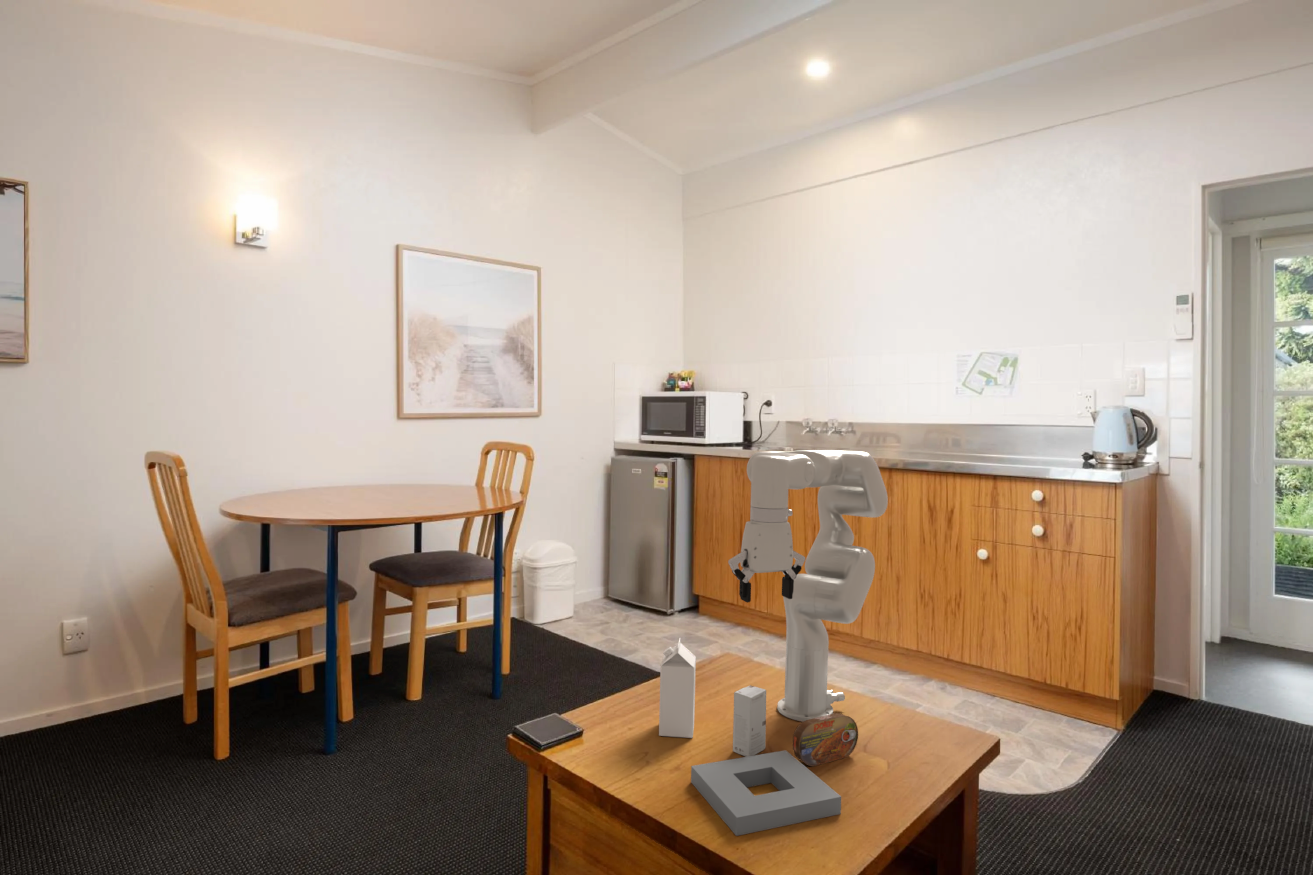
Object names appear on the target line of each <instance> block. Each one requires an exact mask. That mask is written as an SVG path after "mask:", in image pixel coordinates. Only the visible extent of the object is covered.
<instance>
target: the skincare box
mask: <svg viewBox="0 0 1313 875" xmlns="http://www.w3.org/2000/svg"><path fill="white" fill-rule="evenodd" d="M732 720H733V722H732V723H733V727H732V728H733V730H732V752H734V753H736V754H738V755H741V756H743V757H748V756H754V755H758V754H759V753H761V752H762V751H764V750H765V749H766V736H767V734H766V732H767V730H766V727H767V689H764V688H761V687H758V686H754V685H748V686H744V687H743V688H740V689H739V690H736V691H734V693H733V719H732Z"/></svg>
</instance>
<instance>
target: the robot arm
mask: <svg viewBox="0 0 1313 875" xmlns="http://www.w3.org/2000/svg"><path fill="white" fill-rule="evenodd" d="M746 474H747V478H748V479H749V481H750V484H751V485H750V515H749V516H750V518H749V521H746V522H745V525H744V530H743V534H742V541H741V548H740V549H741V550H740V553H738V554H736V555H735V556H732V558H730V559H728V560H727V562H728V565H729V567H730V569H731V572H732V574H733V575H734V576H735V577H736V578H737V580H739V585H738V586H739V591H738V595H739V597H740V600H741V601H744V602H745V603H746V604H747V603H751V601H752V600H751V599H752V582H750V580H751V579H752V577H753V576H754V575H755V573H756V574H764V573H776V572H778V573H779V572H782V573H783V575H784V576H782V577H781V578H782V579H781V596H782V598H783V603H784V604H783V605H784V610H785V611H784V612H785V623H786V624H785V625H786V628H785V630H786V637H785V640H786V641H785V644H786V645H785V673H784V674H785V675H784V676H785V677H784V697H783V698H782V699H779V700H778V702H777V707H776V708H777V711H778V712H779V714H781V715H782V716H784V717H785V718H788V719H790V720H791V719H792V720H794V721H799V722H804V721H806V720H809V719H813V718H817V717H821V716H826V715H830V714H834V707H833V706H832V704H834V702H843V701H845V699H846V695H845V694H844V692H842V691H839V692H834V691H833V689H830V690H829V689H828V671H829V670H828V667H829V644H830V643H829V639H830V638H829V633H828V631H827V629H826V626H825V625H824V623H823V621H827V622H832V623H839V624H846V625H848V624H852V623H854V622H855V621H856V620H857V619H858V617H859V616H860V613H861V611H862V608H863V606H864V604H865V601H866V599H867V595H868V593H869V591H870V588H871V586H872V583H873V580H874V576H875V570H876V562H875V557H874V555H873V553H872V552H871V551H870V550H869V549H868V548H867V547H866V548H865V547H863V546H857V545H853V544H854V541H855V534H854V533H853V530H852V528H851V527H850V525H849V523H848V522H847V521H846V520H845V519H844V517H843V516H854V517H862V518H863V517H864V518H879V517H881V516H883V515H884V514H885V512H886V511H887V509H888V503H889V500H888V499H889V497H888V492H887V488H886V485H885V483H884V479H883V477H882V474H881V470H880V468H879V466H878V464H877V462H876V460H875V459H874V457H873V456H872V455H871V454H870V453H869V452H867V451H866V452H865V451H858V450H839V449H838V450H835V449H822V450H819V449H817V450H816V449H815V450H814V449H813V450H810V449H809V450H806V449H803V450H791V451H789V450H788V451H756V452H754V453H753V454H752V455H751V457H750V458H749V459H748V462H747V465H746ZM806 488H818V492H817V510H818V517H819V519H818V520H819V531H818V533H817V535H816V537H815V539H814V541H813V544H812V546H811V548H810V549H809V552H808V554H807V556H806V557H805V556H804V555H803V554H800V553H798V552H797V551H796V550H794V544H793V543H794V542H793V532H792V528H791V523H790V522H788V520H789V517H791V516H793V510H792V509H789V490H803V489H806ZM794 560H795V562H793V561H794ZM739 564H740V566H741V569H740V567H739ZM803 565H804V571H805V573H800V572H801V571H802V567H803Z"/></svg>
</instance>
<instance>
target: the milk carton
mask: <svg viewBox="0 0 1313 875" xmlns="http://www.w3.org/2000/svg"><path fill="white" fill-rule="evenodd" d="M662 653H663V655H662V656H663V657H662V660H661V663H660V669H659V670H660V672H659V673H660V677H659V678H660V679H659V710H658V711H659V715H658V716H659V718H658V719H659V720H658V721H659V722H658V736H660V737H661V736H662V737H672V738H689V739H693V736H694V731H695V730H694V729H695V708H696V707H695V705H696V704H695V703H696V702H695V701H696V670H697V669H696V666H697V665H696V662H697V661H696V660H697V657H696V655H695V654H694V653H692V652H691V650H689V649H688V648H687V647H686V646H685V645H684V644H683V643H682V642H681V637H679V639H678V642H677V644H676V645H674V646H673V647H672V646H668V647H667V648H665V649H664V651H663V652H662Z"/></svg>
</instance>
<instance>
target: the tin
mask: <svg viewBox="0 0 1313 875" xmlns="http://www.w3.org/2000/svg"><path fill="white" fill-rule="evenodd" d="M858 740H859V729H858V725H857V723H856V720H854V719H853V718H852V717H851V716H849V715H845V714H842V713H839V712H833V714H830V715H826V716H821V717H817V718H813V719H809V720H806V721H804V722H803V721H801V723H799V724H798V726H797V727H796V729H795V730H794V732H793V737H792V750H793V753H794V755H795V756H796V757H795V758H796V759H797V760H800V762H803V763H804V764H806V765H807V766H808V767H809V766H810V767H817V766H820V765H824V764H827V763H831V762H834V761H839V760H842V759H845V758H847V757H849V756H850V755H851V754H852V753H853V752H854V750H855V748H856V746H857V745H858V744H857V743H858Z"/></svg>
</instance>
